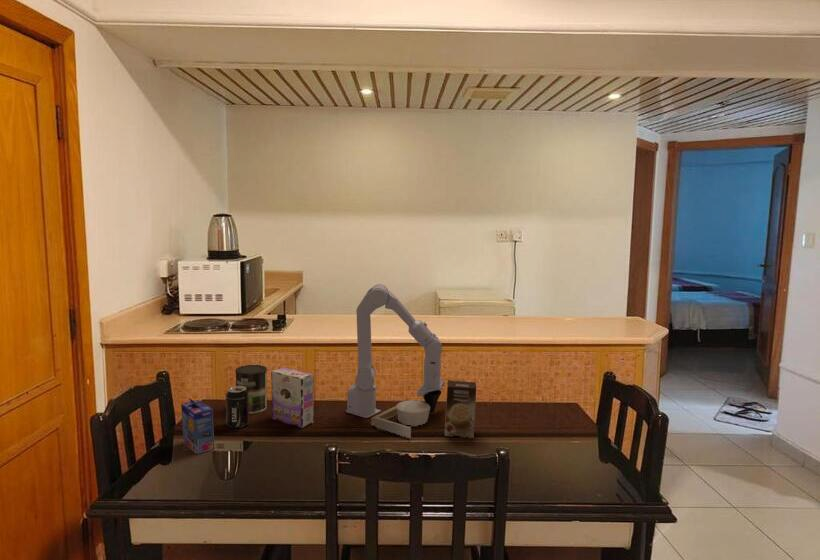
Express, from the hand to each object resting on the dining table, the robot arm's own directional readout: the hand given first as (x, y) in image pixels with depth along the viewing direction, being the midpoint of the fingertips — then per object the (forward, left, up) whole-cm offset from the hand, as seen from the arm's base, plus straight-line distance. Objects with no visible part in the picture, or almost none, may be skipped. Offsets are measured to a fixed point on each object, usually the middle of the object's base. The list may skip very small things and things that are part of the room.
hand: (430, 411), depth 181 cm
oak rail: (-9, -14, -1) cm, 17 cm away
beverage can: (-43, -46, -1) cm, 63 cm away
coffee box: (+16, -8, -1) cm, 17 cm away
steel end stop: (-1, -21, -1) cm, 21 cm away
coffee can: (-51, -34, -1) cm, 62 cm away
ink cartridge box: (-40, -62, -1) cm, 74 cm away
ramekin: (-1, -9, -1) cm, 9 cm away
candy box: (-32, -33, -1) cm, 46 cm away
